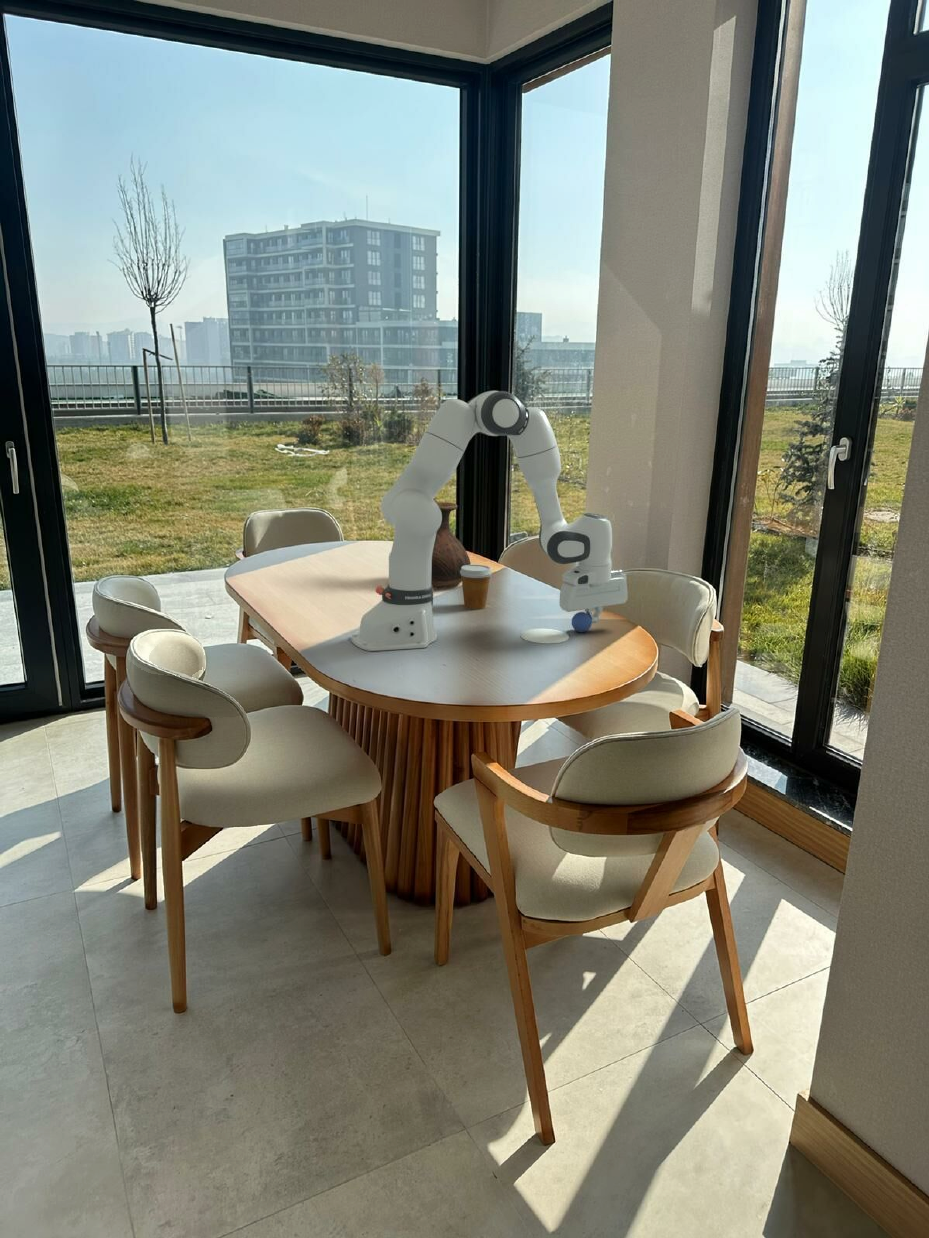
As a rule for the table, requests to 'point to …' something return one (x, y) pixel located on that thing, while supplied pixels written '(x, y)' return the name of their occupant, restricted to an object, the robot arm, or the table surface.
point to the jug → (447, 553)
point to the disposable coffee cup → (475, 585)
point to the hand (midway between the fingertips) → (593, 622)
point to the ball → (581, 622)
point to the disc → (544, 636)
